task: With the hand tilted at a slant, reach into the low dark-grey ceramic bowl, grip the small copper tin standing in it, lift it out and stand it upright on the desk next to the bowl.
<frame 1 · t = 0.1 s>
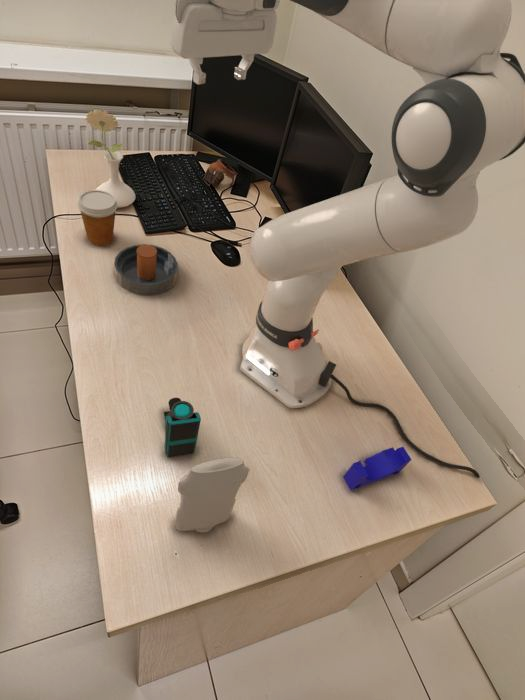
hand: (219, 80, 85), 48 cm above the table, tool pointing down, fingers open, 8 cm apart
disposable coffee cup: (100, 239, 123), on the table
blue toy truck: (369, 472, 94), on the table
bowl: (146, 275, 118), on the table
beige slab: (202, 521, 81), on the table
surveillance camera: (176, 433, 91), on the table
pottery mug: (217, 184, 153), on the table
flower in vase: (112, 200, 136), on the table
copper tin: (146, 274, 117), resting on bowl
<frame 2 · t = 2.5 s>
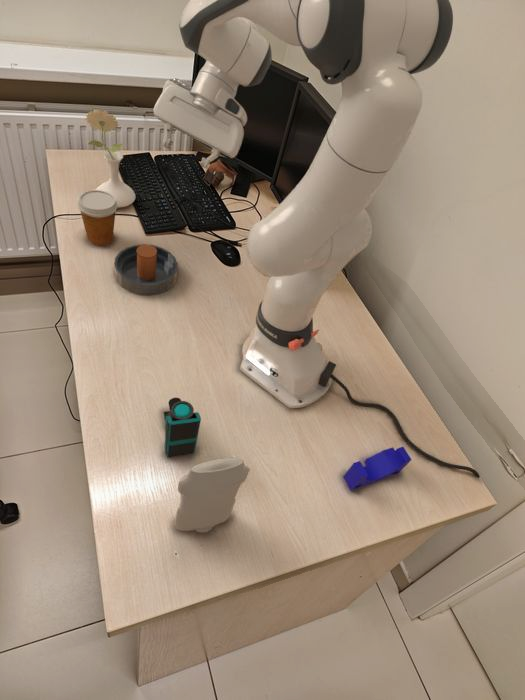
hand: (184, 157, 103), 29 cm above the table, tool tilted 40°, fingers open, 8 cm apart
nothing on the table moved.
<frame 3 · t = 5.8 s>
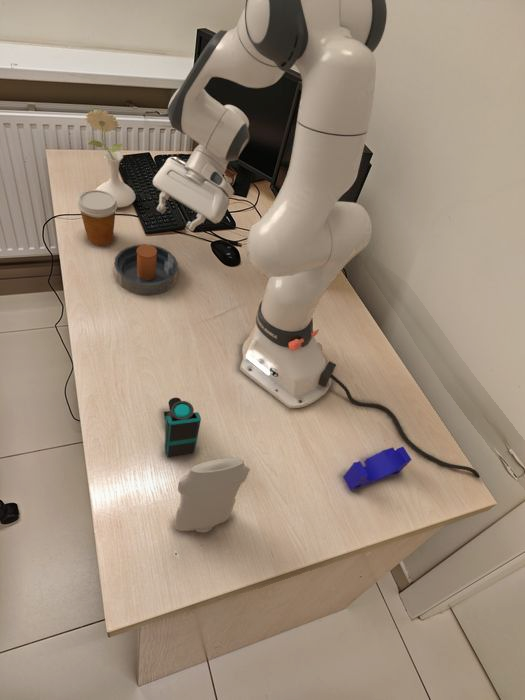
hand: (174, 220, 114), 12 cm above the table, tool tilted 45°, fingers open, 8 cm apart
nothing on the table moved.
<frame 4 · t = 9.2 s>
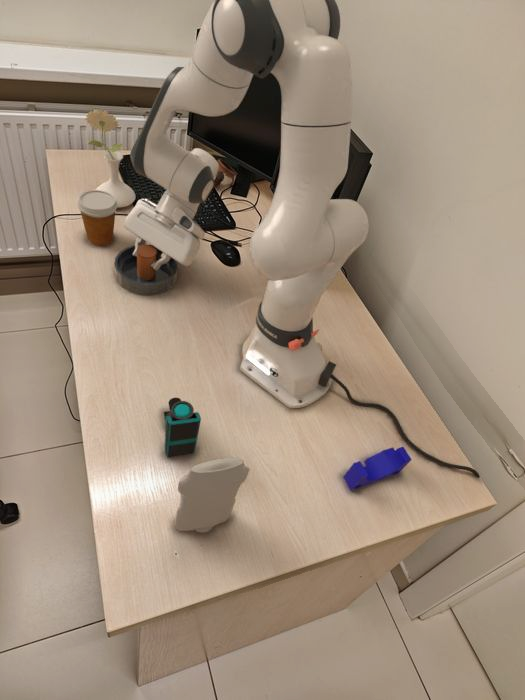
hand: (144, 262, 114), 5 cm above the table, tool tilted 45°, fingers closed on copper tin, 4 cm apart
copper tin: (146, 274, 117), point 1 cm above the table, touching bowl, gripper
everything else where it was.
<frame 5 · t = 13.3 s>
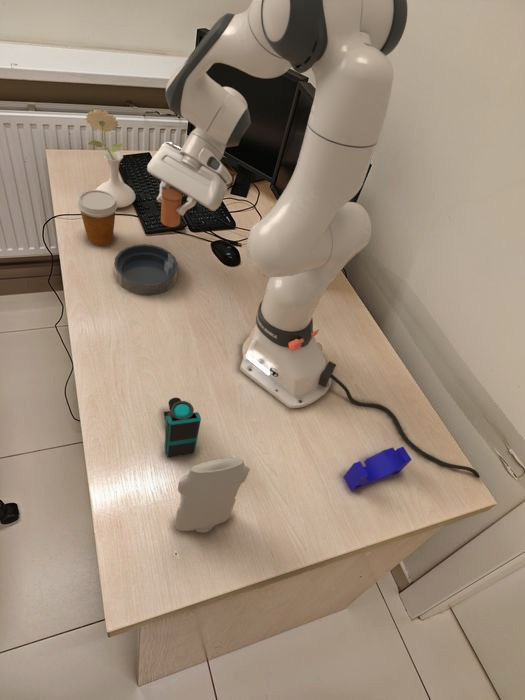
hand: (169, 208, 110), 17 cm above the table, tool tilted 45°, fingers closed on copper tin, 4 cm apart
copper tin: (170, 221, 113), point 13 cm above the table, touching gripper
everything else where it was.
when the fingers open (4 cm above the table, at t = 17.9 s): copper tin stays where it is, on the table.
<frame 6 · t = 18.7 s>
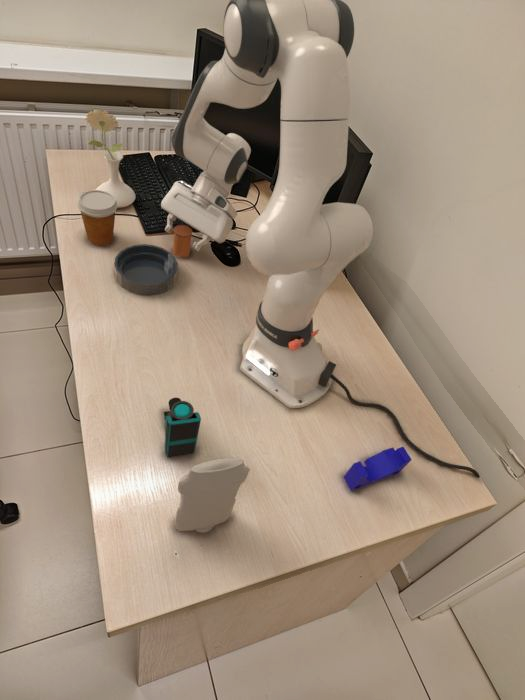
hand: (181, 240, 122), 5 cm above the table, tool tilted 45°, fingers open, 8 cm apart
copper tin: (181, 253, 126), on the table
everything else where it was.
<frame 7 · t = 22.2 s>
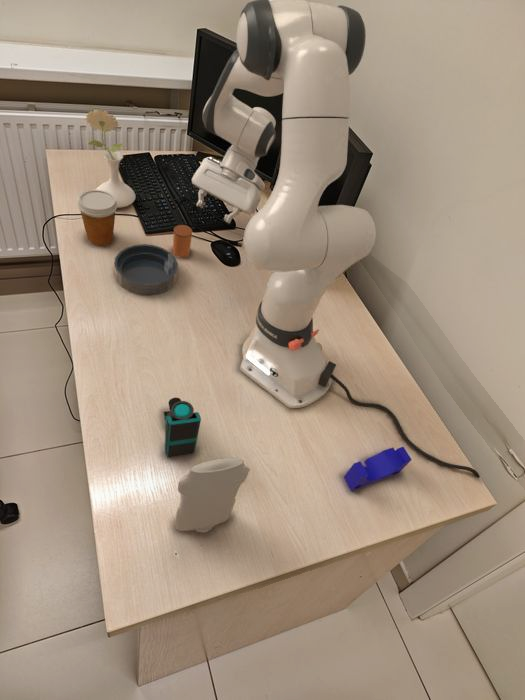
hand: (212, 214, 128), 7 cm above the table, tool tilted 40°, fingers open, 8 cm apart
nothing on the table moved.
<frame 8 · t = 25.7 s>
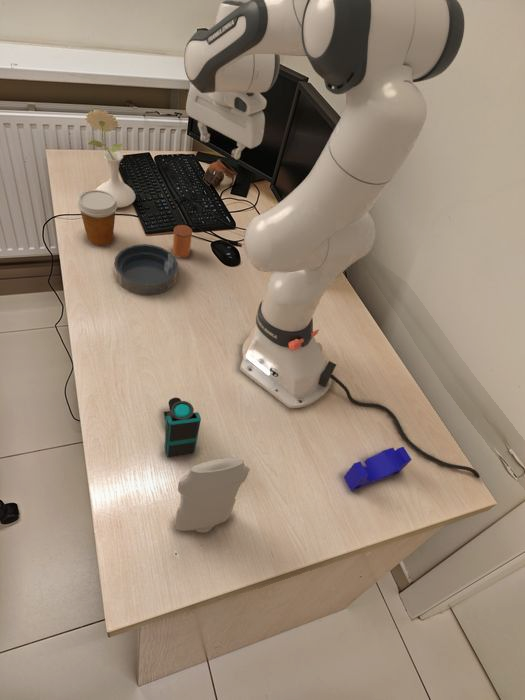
hand: (219, 149, 112), 27 cm above the table, tool pointing down, fingers open, 8 cm apart
nothing on the table moved.
at the end: copper tin 0.1 cm from the target spot, on the table; copper tin tilted 0°; copper tin touching table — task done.
